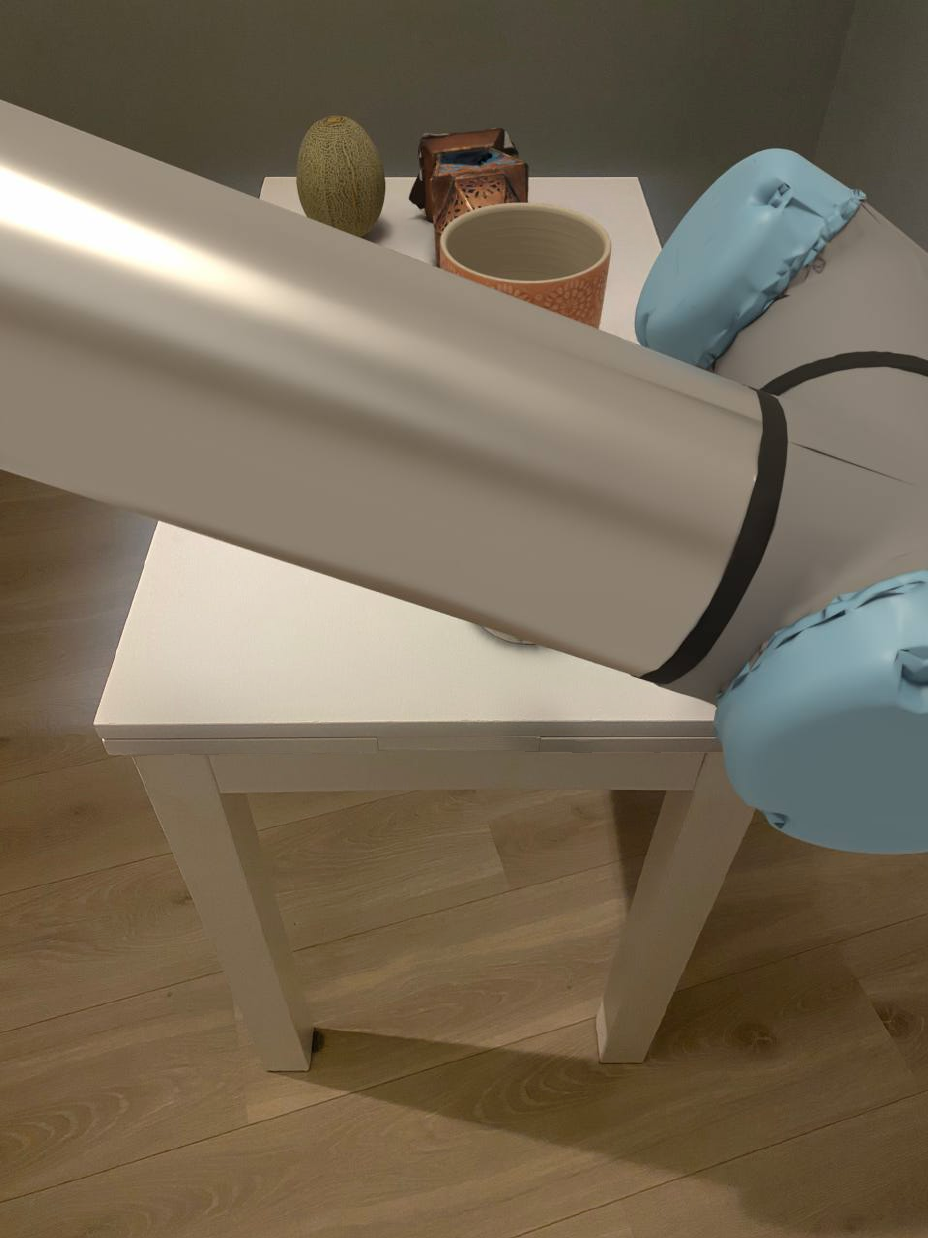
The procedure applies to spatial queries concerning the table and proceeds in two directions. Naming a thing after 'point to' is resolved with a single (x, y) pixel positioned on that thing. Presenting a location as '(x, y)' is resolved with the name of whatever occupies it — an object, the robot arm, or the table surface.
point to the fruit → (340, 176)
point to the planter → (533, 256)
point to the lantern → (467, 175)
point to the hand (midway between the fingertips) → (611, 546)
